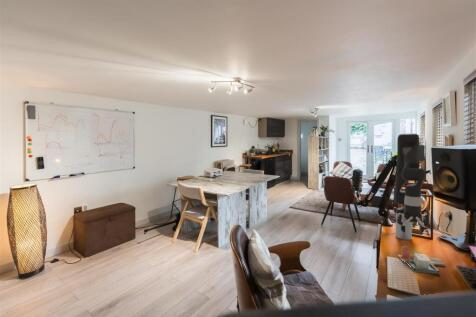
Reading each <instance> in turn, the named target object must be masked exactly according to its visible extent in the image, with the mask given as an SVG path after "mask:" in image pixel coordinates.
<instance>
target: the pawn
mask: <svg viewBox="0 0 476 317" xmlns="http://www.w3.org/2000/svg"><path fill="white" fill-rule="evenodd" d="M401 255H402V256H401V258H403V259H406V260H409V259H410V257H409V256H410V248H409V246H407V245H403V246H402V248H401Z"/></svg>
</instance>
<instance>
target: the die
mask: <svg viewBox="0 0 476 317" xmlns="http://www.w3.org/2000/svg"><path fill="white" fill-rule="evenodd" d="M413 256H414V262H415V264H416V266H417V268H426V269H429V264H430V260H429V259H428V257H429V256H427V255H426V254H424V253H416V252H414V255H413Z"/></svg>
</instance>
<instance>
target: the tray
mask: <svg viewBox="0 0 476 317" xmlns="http://www.w3.org/2000/svg"><path fill="white" fill-rule="evenodd" d="M406 262H407V263H408V264H409V265H410V266H411V268H412V269H413V270H412V269H411V268H410V269H411V270H412V271H413V272H414V273H421V274H422V273H424V274H434V275H440V270H439V269H438V268H437V267H436V265H432V264H431V263H430V264H429V269H426V268H417V266H416V264H415V262H414V261H413V260H406ZM407 263H406V264H407ZM408 264H407V265H408ZM409 265H408V266H409ZM410 266H409V267H410Z"/></svg>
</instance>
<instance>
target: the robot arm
mask: <svg viewBox="0 0 476 317" xmlns="http://www.w3.org/2000/svg"><path fill="white" fill-rule="evenodd" d="M396 140H397V141H396V142H397V144H396V145H397V148H396V149H397V150H396V151H397V152H396V153H397V154H396V155H397V156H396V157H397V158H396V166H395V167H396V168H395V185H394V191H393V192H394V193H393V202H394V203H395V204H396V205H403V206H402V207H397V208H396V209H395V237H396V238H398V239H400V240H405V241H410V240H412V237H413V236H412V235H413V234H412V233H413V223H418V224H419V226H418V227H419V228H418V229H419V233H420V234H424V233H425V227H427V226H429V215H427V214H426V213H422V187H423V183H424V181H425V178H426V176H427V173H426V171H425V169H424V168H421V165H420V158H419V157H420V156H419V155H420V137H419V134H417V133H399V135H398V136H397V139H396ZM404 149H409V151H407V153H405V151H404ZM408 182H415V183H412V184H407V183H408ZM404 186H405V187H404ZM403 187H404V190H402V189H403ZM421 219H422V220H423V222H422V221H421Z"/></svg>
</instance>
